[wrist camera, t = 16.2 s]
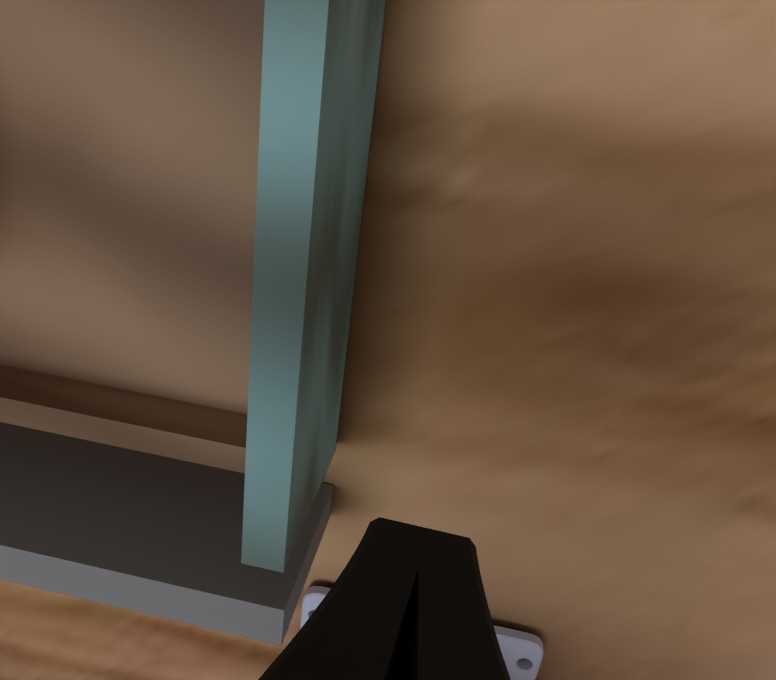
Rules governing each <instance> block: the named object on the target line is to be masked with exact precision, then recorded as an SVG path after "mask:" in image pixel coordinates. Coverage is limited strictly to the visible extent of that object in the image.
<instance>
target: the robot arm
mask: <svg viewBox="0 0 776 680" xmlns="http://www.w3.org/2000/svg"><path fill="white" fill-rule="evenodd" d="M314 610H315V611H314ZM521 658H526V659H527V660H523V659H521ZM542 658H543V643H542V641H541V639H540V638H539V637H537V636H536V635H533V634H530V633H526V632H522V631H517V630H513V629H508V628H504V627H500V626H495V625H493V622H492V618H491V615H490V611H489V608H488V604H487V600H486V596H485V592H484V588H483V584H482V579H481V575H480V570H479V565H478V559H477V553H476V547H475V545H474V544H473V542H472V541H471V539H470V538H467V537H463V536H459V535H454V534H450V533H446V532H441V531H437V530H432V529H428V528H424V527H419V526H415V525H411V524H406V523H402V522H398V521H393V520H389V519H385V518H380V517H379V518H377V519H375V520H373V521H371V522H370V523H369V526H368V528H367V530H366V532H365V535H364V537H363V538H362V540H361V542H360V544H359V546H358V547H357V549H356V551H355V553H354V554H353V556H352V558H351V559H350V561H349V562H348V564H347V566H346V567H345V569H344V570H343V572H342V573H341V574H340V576H339V577H338V579H337V580H336V582H335V583H334V585H333V586H332V588H327V587H322V586H313V587H310V588H309V589H307V591H306V593H305V596H304V599H303V603H302V613H301V623H300V631H299V632H298V633H297V634H296V636H295V637H294V638H293V639H292V641H291V642H290V643H289V644H288V646H287V647H286V648H285V649H284V650H283V651H282V653H281V654H280V655H279V656H278V657H277V658H276V660H275V661H274V662H273V663H272V664H271V665H270V667H269V668H268V669H267V670H266V671H265V672H264V674H263V675H262V676H261V677H260V678H259V679H258V680H535V679H536V676H537V673H538V670H539V667H540V664H541V661H542Z"/></svg>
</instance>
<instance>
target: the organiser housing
mask: <svg viewBox="0 0 776 680" xmlns="http://www.w3.org/2000/svg"><path fill="white" fill-rule="evenodd" d="M244 484H245V473H240V472H236V471H231V470H226V469H221V468H217V467H212V466H207V465H203V464H198V463H193V462H188V461H184V460H179V459H174V458H169V457H165V456H160V455H155V454H150V453H146V452H141V451H136V450H131V449H127V448H122V447H117V446H112V445H108V444H103V443H98V442H94V441H89V440H84V439H79V438H75V437H70V436H65V435H60V434H56V433H51V432H46V431H41V430H37V429H32V428H27V427H22V426H18V425H13V424H8V423H3V422H0V579H2V580H6V581H10V582H15V583H19V584H23V585H27V586H32V587H36V588H40V589H44V590H49V591H53V592H57V593H61V594H66V595H70V596H74V597H78V598H82V599H87V600H91V601H95V602H99V603H104V604H108V605H112V606H116V607H121V608H125V609H129V610H133V611H138V612H142V613H146V614H150V615H155V616H159V617H163V618H167V619H171V620H176V621H180V622H184V623H188V624H193V625H197V626H201V627H205V628H210V629H214V630H218V631H222V632H227V633H231V634H235V635H239V636H244V637H248V638H252V639H256V640H260V641H265V642H269V643H273V644H277V645H282V643H283V640H284V637H285V635H286V632H287V629H288V627H289V624H290V621H291V619H292V616H293V613H294V611H295V608H296V605H297V603H298V600H299V597H300V595H301V592H302V589H303V587H304V584H305V581H306V579H307V576H308V573H309V571H310V568H311V565H312V563H313V560H314V557H315V555H316V552H317V549H318V547H319V544H320V541H321V539H322V536H323V533H324V531H325V528H326V525H327V523H328V520H329V517H330V513H331V504H332V495H333V487H334V485H330V484H326V483H321V486H320V488H319V490H318V493H317V495H316V497H315V500H314V502H313V504H312V507H311V509H310V511H309V514H308V516H307V519H306V521H305V523H304V526H303V528H302V530H301V533H300V535H299V537H298V540H297V542H296V544H295V547H294V549H293V552H292V554H291V556H290V559H289V561H288V563H287V566H286V568H285V570H284V573H282V572H278V571H273V570H269V569H264V568H260V567H255V566H251V565H247V564H242V563H241V556H242V532H243V508H244Z"/></svg>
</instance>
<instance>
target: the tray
mask: <svg viewBox="0 0 776 680" xmlns="http://www.w3.org/2000/svg"><path fill="white" fill-rule="evenodd" d="M385 5H386V0H0V422H3V423H8V424H13V425H18V426H22V427H27V428H32V429H37V430H41V431H46V432H51V433H56V434H60V435H65V436H70V437H75V438H79V439H84V440H89V441H94V442H98V443H103V444H108V445H112V446H117V447H122V448H127V449H131V450H136V451H141V452H146V453H150V454H155V455H160V456H165V457H169V458H174V459H179V460H184V461H188V462H193V463H198V464H203V465H207V466H212V467H217V468H221V469H226V470H231V471H236V472H240V473H245V484H244V508H243V532H242V556H241V563H242V564H247V565H251V566H255V567H260V568H264V569H269V570H273V571H278V572H282V573H284V570H285V568H286V566H287V563H288V561H289V559H290V556H291V554H292V552H293V549H294V547H295V544H296V542H297V540H298V537H299V535H300V533H301V530H302V528H303V526H304V523H305V521H306V519H307V516H308V514H309V511H310V509H311V507H312V504H313V502H314V500H315V497H316V495H317V493H318V490H319V488H320V486H321V483H322V481H323V478H324V476H325V474H326V471H327V469H328V467H329V464H330V462H331V460H332V457H333V455H334V453H335V449H336V440H337V431H338V423H339V414H340V405H341V396H342V387H343V378H344V369H345V360H346V352H347V343H348V334H349V325H350V316H351V307H352V298H353V289H354V281H355V272H356V263H357V254H358V245H359V236H360V227H361V218H362V209H363V201H364V192H365V183H366V174H367V165H368V156H369V147H370V138H371V130H372V121H373V112H374V103H375V94H376V85H377V76H378V67H379V58H380V50H381V41H382V32H383V23H384V14H385Z"/></svg>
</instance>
